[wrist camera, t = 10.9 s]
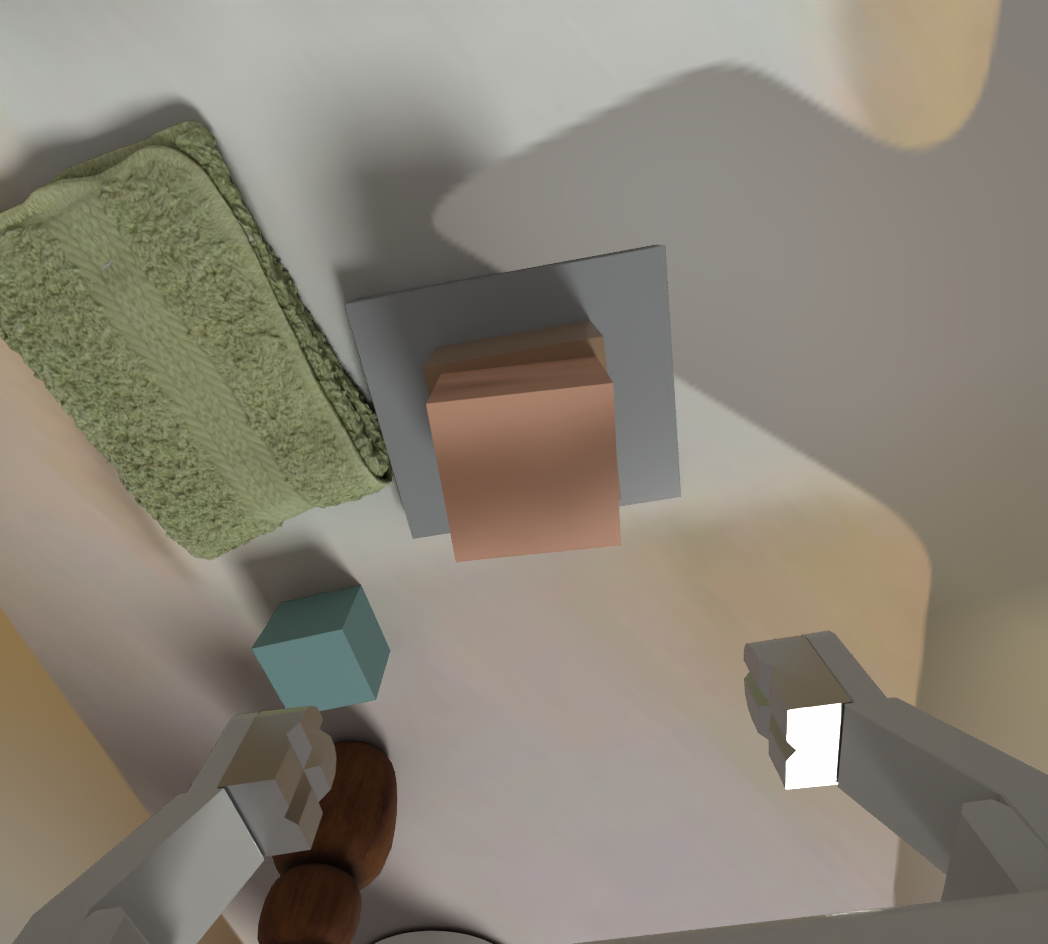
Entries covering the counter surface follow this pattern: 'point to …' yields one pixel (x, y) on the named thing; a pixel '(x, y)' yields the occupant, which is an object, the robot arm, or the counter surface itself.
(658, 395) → the baseplate
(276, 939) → the wooden figurine
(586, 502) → the brick
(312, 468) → the washcloth
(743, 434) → the counter surface
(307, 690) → the brick
